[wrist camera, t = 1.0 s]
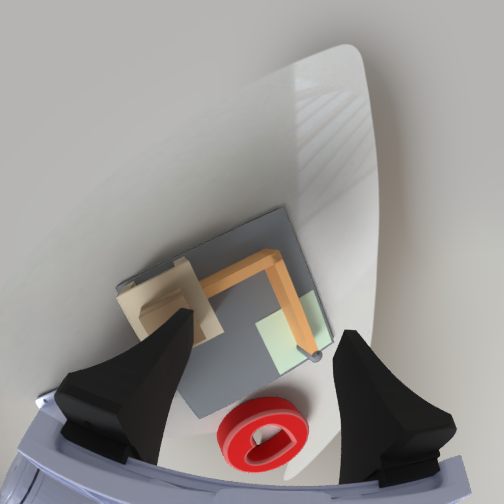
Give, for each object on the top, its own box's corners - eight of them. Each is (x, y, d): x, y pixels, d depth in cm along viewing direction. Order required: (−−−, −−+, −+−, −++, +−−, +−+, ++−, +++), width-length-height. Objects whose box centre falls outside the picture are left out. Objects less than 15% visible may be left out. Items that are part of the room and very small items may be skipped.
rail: (209, 402, 24) (215, 419, 21) (148, 303, 22) (147, 313, 19) (308, 346, 27) (323, 357, 24) (266, 245, 25) (280, 246, 22)
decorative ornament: (300, 440, 29) (312, 454, 26) (227, 466, 26) (235, 483, 23) (293, 383, 28) (307, 397, 25) (206, 411, 25) (213, 429, 22)
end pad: (279, 374, 26) (280, 374, 26) (254, 323, 25) (255, 323, 25) (331, 341, 28) (331, 341, 28) (312, 289, 26) (313, 289, 26)
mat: (198, 416, 24) (199, 419, 24) (116, 286, 21) (115, 287, 21) (331, 340, 28) (334, 342, 28) (280, 207, 26) (283, 207, 25)
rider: (155, 343, 22) (156, 384, 15) (123, 286, 21) (109, 308, 14) (212, 315, 24) (234, 345, 17) (183, 256, 22) (193, 266, 16)
